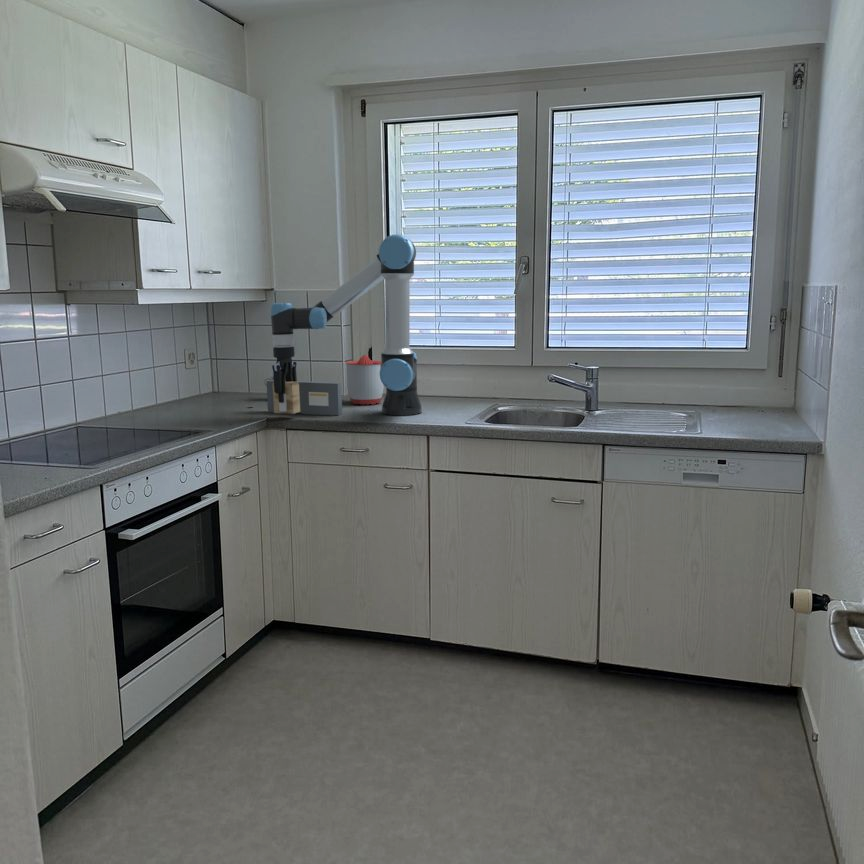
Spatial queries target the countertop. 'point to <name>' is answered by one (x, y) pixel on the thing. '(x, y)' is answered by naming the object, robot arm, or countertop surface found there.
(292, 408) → the oak block
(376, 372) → the citrus juicer
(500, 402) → the countertop surface
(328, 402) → the panel
